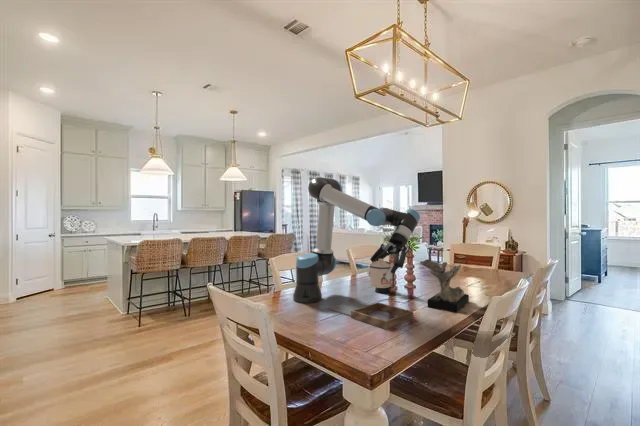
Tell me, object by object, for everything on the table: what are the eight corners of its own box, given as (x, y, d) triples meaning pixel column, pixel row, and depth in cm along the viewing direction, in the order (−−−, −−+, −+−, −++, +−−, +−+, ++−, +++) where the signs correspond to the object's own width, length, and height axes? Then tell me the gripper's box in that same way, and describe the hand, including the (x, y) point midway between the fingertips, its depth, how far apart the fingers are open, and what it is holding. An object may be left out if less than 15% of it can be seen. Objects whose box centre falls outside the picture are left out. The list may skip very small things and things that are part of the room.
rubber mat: (327, 308, 154) (327, 307, 154) (349, 302, 164) (349, 301, 164) (350, 316, 143) (350, 315, 143) (372, 309, 153) (372, 308, 153)
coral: (454, 314, 145) (454, 266, 145) (411, 306, 158) (411, 262, 158) (470, 302, 164) (470, 260, 164) (430, 295, 177) (430, 256, 177)
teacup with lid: (383, 289, 133) (383, 261, 133) (365, 285, 139) (365, 258, 139) (398, 284, 141) (399, 258, 141) (381, 281, 148) (381, 255, 148)
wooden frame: (350, 317, 141) (350, 310, 141) (378, 308, 154) (378, 302, 154) (386, 329, 127) (386, 321, 127) (413, 318, 140) (413, 311, 140)
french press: (371, 291, 185) (370, 251, 185) (378, 288, 193) (378, 250, 192) (389, 295, 178) (389, 253, 178) (397, 291, 185) (397, 251, 185)
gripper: (424, 245, 142) (403, 287, 132) (384, 240, 158) (362, 277, 148) (418, 233, 138) (395, 275, 128) (377, 230, 155) (354, 267, 144)
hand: (377, 276), depth 138 cm, fingers closed on teacup with lid, 9 cm apart
